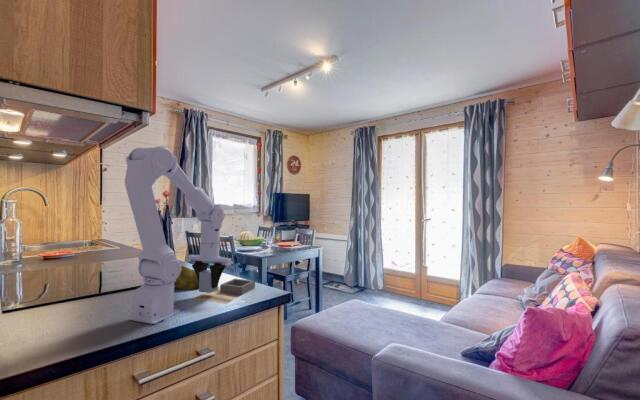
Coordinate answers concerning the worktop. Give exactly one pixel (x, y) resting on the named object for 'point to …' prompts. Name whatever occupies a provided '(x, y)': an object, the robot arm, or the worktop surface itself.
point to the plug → (206, 282)
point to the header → (237, 286)
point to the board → (217, 297)
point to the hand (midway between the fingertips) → (208, 286)
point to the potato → (187, 279)
